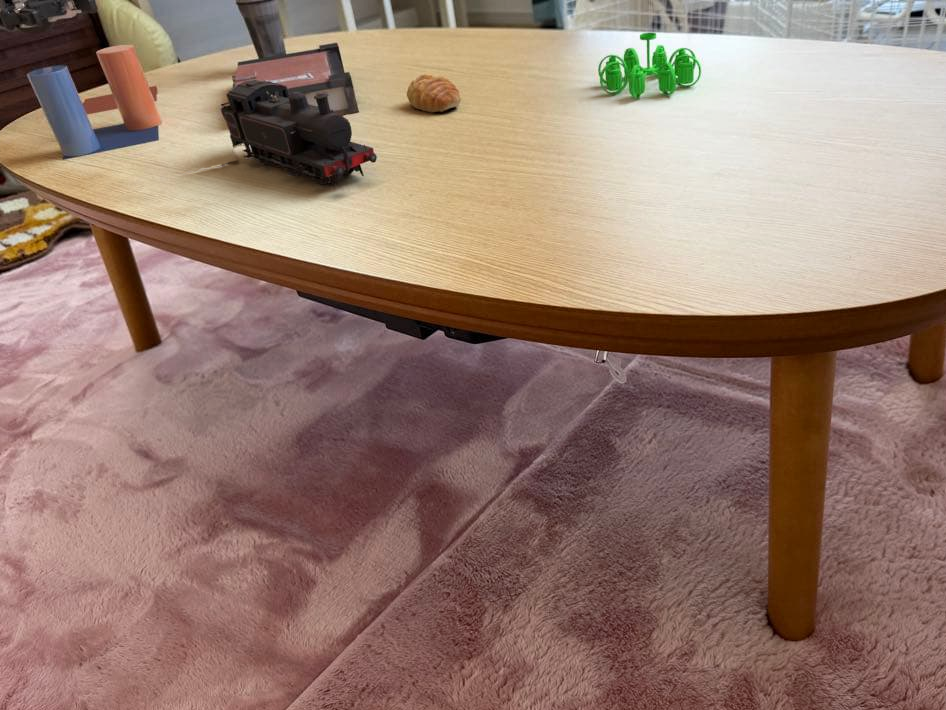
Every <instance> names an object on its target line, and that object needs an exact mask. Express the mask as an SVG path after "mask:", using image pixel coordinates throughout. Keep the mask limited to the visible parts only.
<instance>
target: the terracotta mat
mask: <svg viewBox="0 0 946 710" xmlns="http://www.w3.org/2000/svg"><path fill="white" fill-rule="evenodd" d="M149 88H150V91H151V93H152V96H153V99H154V102H155V103H156V102H157V101H158V96H157V95H158V87H157V85H152V86H149ZM83 101H84V102H83V106H84V108H85V111H86V113H87V115H91V114H92V115H93V114H97V113H102V112H108V111H113V110H119V109H118V107H117V104H116V102H115V99H114V97H113V94H112V93H109V94H104V95H100V96H94V97H89V98H84V100H83Z"/></svg>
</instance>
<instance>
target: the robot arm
mask: <svg viewBox="0 0 946 710" xmlns="http://www.w3.org/2000/svg"><path fill="white" fill-rule="evenodd" d="M65 11H66V13H64V12H65ZM97 12H98V5H97V3H96V1H95V0H0V30H3V31H7V32H10V33H17V34H23V35H24V34H25V35H30V36H31V35H33V36H38V35H39V36H40V35H43V34H45V33H47V32H49V31H50V30H51V29H52V27H53V26H54V25H55V22H57V21H60V20H62V19H71V18H74V17H76V16H77V14H95V13H97Z"/></svg>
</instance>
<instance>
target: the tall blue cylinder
mask: <svg viewBox="0 0 946 710" xmlns="http://www.w3.org/2000/svg"><path fill="white" fill-rule="evenodd" d="M26 76H27V79H28V80H29V83H30V85H31V87H32V89H33V91H34V94H35V96H36V98H37V100H38V102H39V103H38V104H39V105H40V107H41V109H42V111H43V114H44V116H45V118H46V120H47V123H48V124H49V127H50V129H51V131H52V133H53V136H54V138H55V140H56V143H57V145H58V146H59V147H58V148H59V149H60V152H61V153H62V155H63V156H65V157H75V158H78V157H77V156H80V157H83V156H82V155H85V156H87V155H86V154H90V153H92V152H95V151H97V150H98V149H100V144H99V142H98V139H97V137H96V134H95V132H94V130H93V129H94V128H93V125H92V123H91V121H90V118H89V114H87V113H86V111H85V108H84V106H83V105H84V103H83V101H82V99H81V97H80V94H79V92H78V89H77V87H76V85H75V82H74V80H73V78H72V76H71V73H70V71H69V67H68V66H67V65H52V66H47V67H42V68H38V69H34V70H31V71H30V72H28V73H27V74H26ZM90 155H91V154H90Z"/></svg>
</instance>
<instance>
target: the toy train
mask: <svg viewBox="0 0 946 710" xmlns="http://www.w3.org/2000/svg"><path fill="white" fill-rule="evenodd" d="M275 91H278V94H279V95H278V96H276V95H275ZM225 95H226V98H227V101H228V102H224V103H222V104H221V103H220V106H221V108H220V112H221V114H222V117H223V119H224V120H225V122H226V123H225V124H226V126H227V128H228V132H229V134H230V135H229V138H230V141H231V144H232V146H234V147H236V146H240V145H243V146H244V147H245V149H243V150H242V152H244V153H246V155H242V156H243V158H246V159H250V158H253V159H255V160H257V161H258V162H259V163H260V164H261V165H264V166H266V165H269V166H270V165H273V166H275V167H279V168H280V169H281V168H282V169H283V170H284V171H286V172H287V173H288V174H289V175H292V176H293V175H295V176H297V177H300V176H304V177H307V178H309V179H312V181H313V182H314V183H316V184H318V185H321V184H322V185H326V184H330V183H331V179H330V178H331V177H332V178H333V181H334V184H335V187H338V186H339V185H338V179H337V178H338V177H337V175H338V176H340V177H342V175H343V174H347V175H351V174H352V173H354V172H359V174H360V175H361V176H362V177H365V176H364V172H363V169H362V166H361V165H362V164H365V163H368V162H371V163H372V164H373V163H376V162H377V159H378V157H377V153H375V151H374V147H371V146H368V145H366V144H360V143H357V142H354V141H351V140H352V136H353V131H352V126H351V122H349V121H350V120H349V119H348V118H346V117H345V116H344V115H339V114H335V113H333V110H330V107H329V102H328V98H327V97H328V94H326V93H321V94H317V95H316V96H314V98H315V99H316V101H317V105H318V106H314V105H310V104H308V102H307V99H306V96H305V95H304V94H303V93H301V92H298V91H297V92H293V93H292V94H291V96H290V97H289V94H288V91H287V87H286V86H283V85H281V84H277V83H272V82H268V81H256V80H253V81H245V82H243V83H241V84H239V85H237V86H236V87H234V88H233V87H232V88H231V90H229V91H228V92H227V93H226V94H225ZM236 99H237V100H236ZM239 100H240V101H239ZM274 158H277V159H278V160H279V161H278V160H276V159H274ZM302 167H304V168H306V170H305V169H303V168H302Z"/></svg>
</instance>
